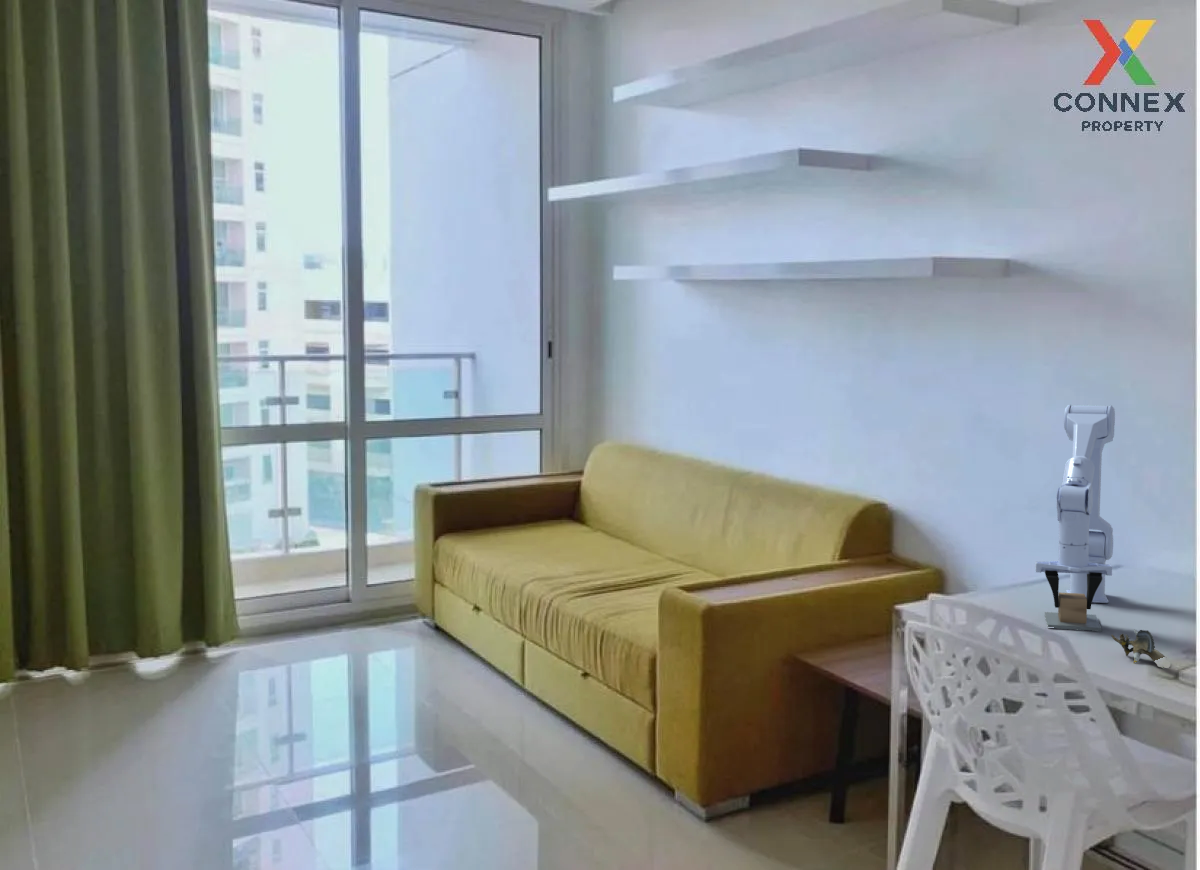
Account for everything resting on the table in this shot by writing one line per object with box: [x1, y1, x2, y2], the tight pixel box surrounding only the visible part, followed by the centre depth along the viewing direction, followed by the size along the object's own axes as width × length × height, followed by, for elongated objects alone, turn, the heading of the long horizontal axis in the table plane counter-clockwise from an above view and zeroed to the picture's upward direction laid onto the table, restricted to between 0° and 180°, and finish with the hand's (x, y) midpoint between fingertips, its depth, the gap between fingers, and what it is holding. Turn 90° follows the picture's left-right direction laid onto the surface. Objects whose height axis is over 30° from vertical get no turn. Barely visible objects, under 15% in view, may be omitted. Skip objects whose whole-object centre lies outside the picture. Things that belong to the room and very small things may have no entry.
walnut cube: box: [1057, 592, 1088, 623], centre depth 228 cm, size 5×5×5 cm
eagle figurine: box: [1110, 629, 1166, 663], centre depth 202 cm, size 8×7×9 cm
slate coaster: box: [1044, 611, 1102, 632], centre depth 228 cm, size 10×10×1 cm
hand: (1072, 607), depth 228 cm, fingers open, 5 cm apart
